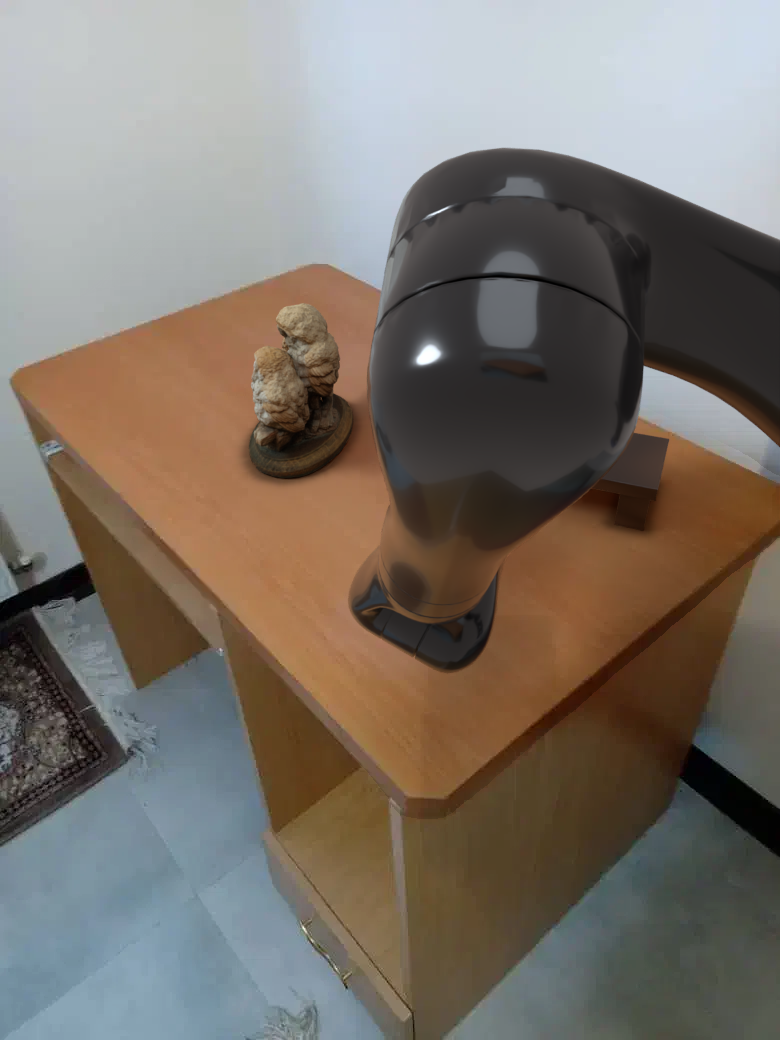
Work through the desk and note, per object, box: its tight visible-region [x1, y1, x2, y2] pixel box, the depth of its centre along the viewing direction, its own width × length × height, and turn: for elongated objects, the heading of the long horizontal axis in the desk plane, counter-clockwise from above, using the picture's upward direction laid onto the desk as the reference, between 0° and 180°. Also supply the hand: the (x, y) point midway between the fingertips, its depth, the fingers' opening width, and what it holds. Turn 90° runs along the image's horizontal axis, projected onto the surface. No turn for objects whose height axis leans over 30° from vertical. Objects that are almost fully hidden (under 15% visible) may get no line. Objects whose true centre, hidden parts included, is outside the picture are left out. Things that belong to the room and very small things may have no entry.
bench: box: [591, 432, 670, 531], centre depth 86 cm, size 22×9×6 cm, turn 68°
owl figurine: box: [248, 302, 354, 479], centre depth 92 cm, size 18×12×17 cm, turn 165°
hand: (562, 382), depth 78 cm, fingers open, 8 cm apart
